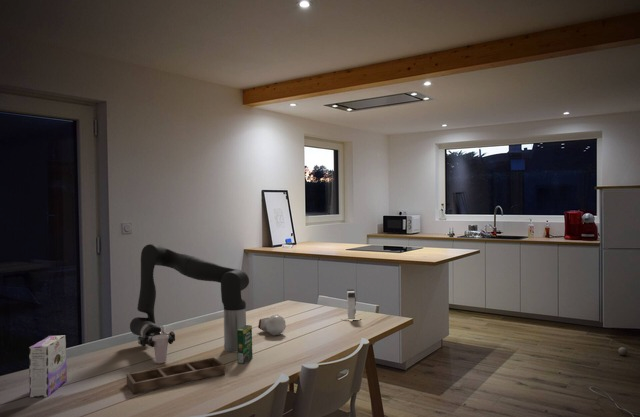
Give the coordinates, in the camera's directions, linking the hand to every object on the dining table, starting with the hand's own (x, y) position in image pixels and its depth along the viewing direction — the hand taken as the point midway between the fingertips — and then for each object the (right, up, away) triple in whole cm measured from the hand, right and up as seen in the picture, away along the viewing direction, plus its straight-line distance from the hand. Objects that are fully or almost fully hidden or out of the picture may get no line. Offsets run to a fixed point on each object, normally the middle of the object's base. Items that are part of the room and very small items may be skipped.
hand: (162, 342), depth 182 cm
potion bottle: (+38, -8, +43) cm, 58 cm away
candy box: (-30, -9, -24) cm, 39 cm away
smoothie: (-1, -8, +2) cm, 8 cm away
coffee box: (+31, -8, +3) cm, 33 cm away
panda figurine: (+77, -7, +70) cm, 105 cm away
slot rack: (+11, -8, -17) cm, 21 cm away
